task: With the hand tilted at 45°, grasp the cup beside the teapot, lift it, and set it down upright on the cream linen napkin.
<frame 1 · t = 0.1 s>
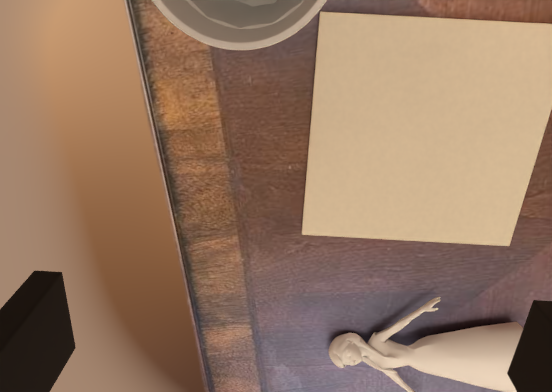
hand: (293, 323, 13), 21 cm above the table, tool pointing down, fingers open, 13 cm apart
napkin: (423, 140, 32), on the table
woman figurine: (430, 339, 40), on the table
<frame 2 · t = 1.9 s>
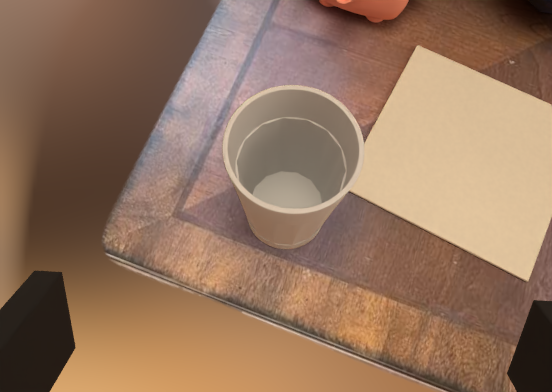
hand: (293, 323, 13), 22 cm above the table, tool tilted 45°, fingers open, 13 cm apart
napkin: (466, 153, 39), on the table
cup: (285, 211, 37), on the table
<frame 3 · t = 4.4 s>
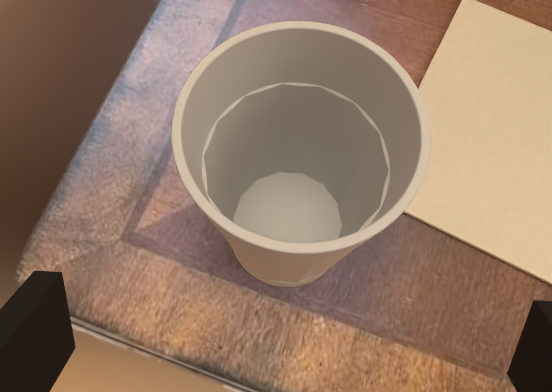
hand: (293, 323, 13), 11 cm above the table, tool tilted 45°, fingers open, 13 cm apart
napkin: (541, 143, 27), on the table
cup: (286, 230, 26), on the table
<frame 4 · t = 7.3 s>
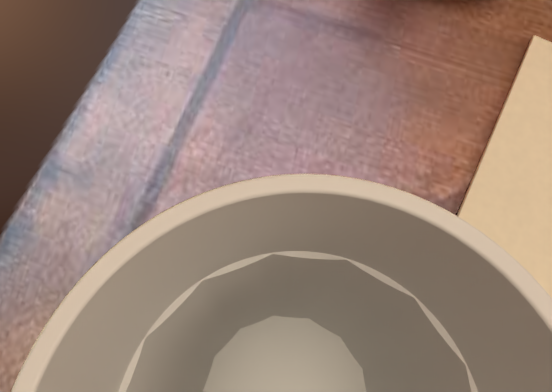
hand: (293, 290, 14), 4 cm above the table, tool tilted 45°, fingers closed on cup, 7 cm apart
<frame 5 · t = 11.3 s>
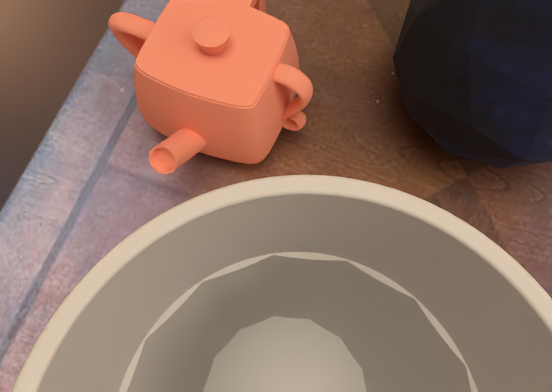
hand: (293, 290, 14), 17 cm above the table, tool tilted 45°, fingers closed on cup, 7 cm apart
teapot: (216, 119, 35), on the table
decorative orb: (467, 111, 36), on the table
when the fingers open (4 cm above the table, at t = 15.7 s): cup stays where it is, resting on napkin.
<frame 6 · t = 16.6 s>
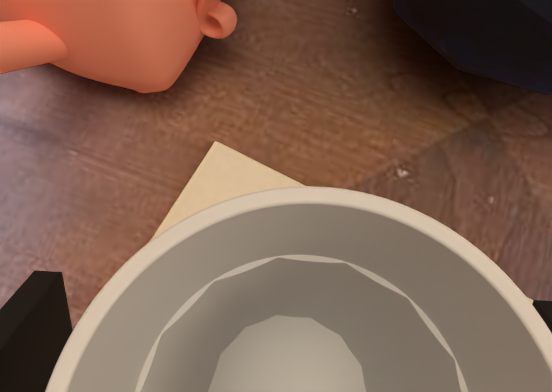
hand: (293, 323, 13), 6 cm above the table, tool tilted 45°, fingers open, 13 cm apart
teapot: (114, 34, 24), on the table
decorative orb: (487, 24, 24), on the table
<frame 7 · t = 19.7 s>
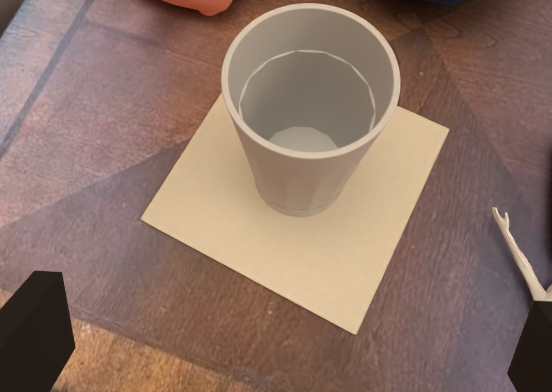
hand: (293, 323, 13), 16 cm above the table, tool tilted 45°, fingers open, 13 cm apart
napkin: (299, 174, 32), on the table
cup: (299, 174, 32), resting on napkin
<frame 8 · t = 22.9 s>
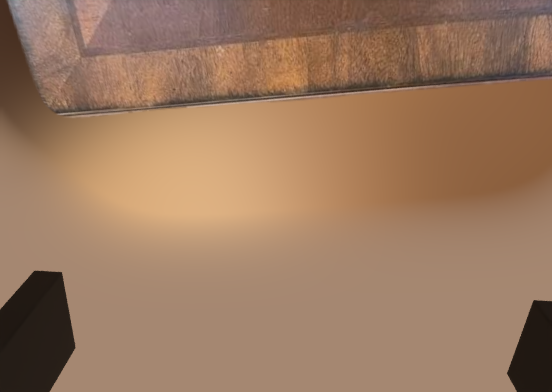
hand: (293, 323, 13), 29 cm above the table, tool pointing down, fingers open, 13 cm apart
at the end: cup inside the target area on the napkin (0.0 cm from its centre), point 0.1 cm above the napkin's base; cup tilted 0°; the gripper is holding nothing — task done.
